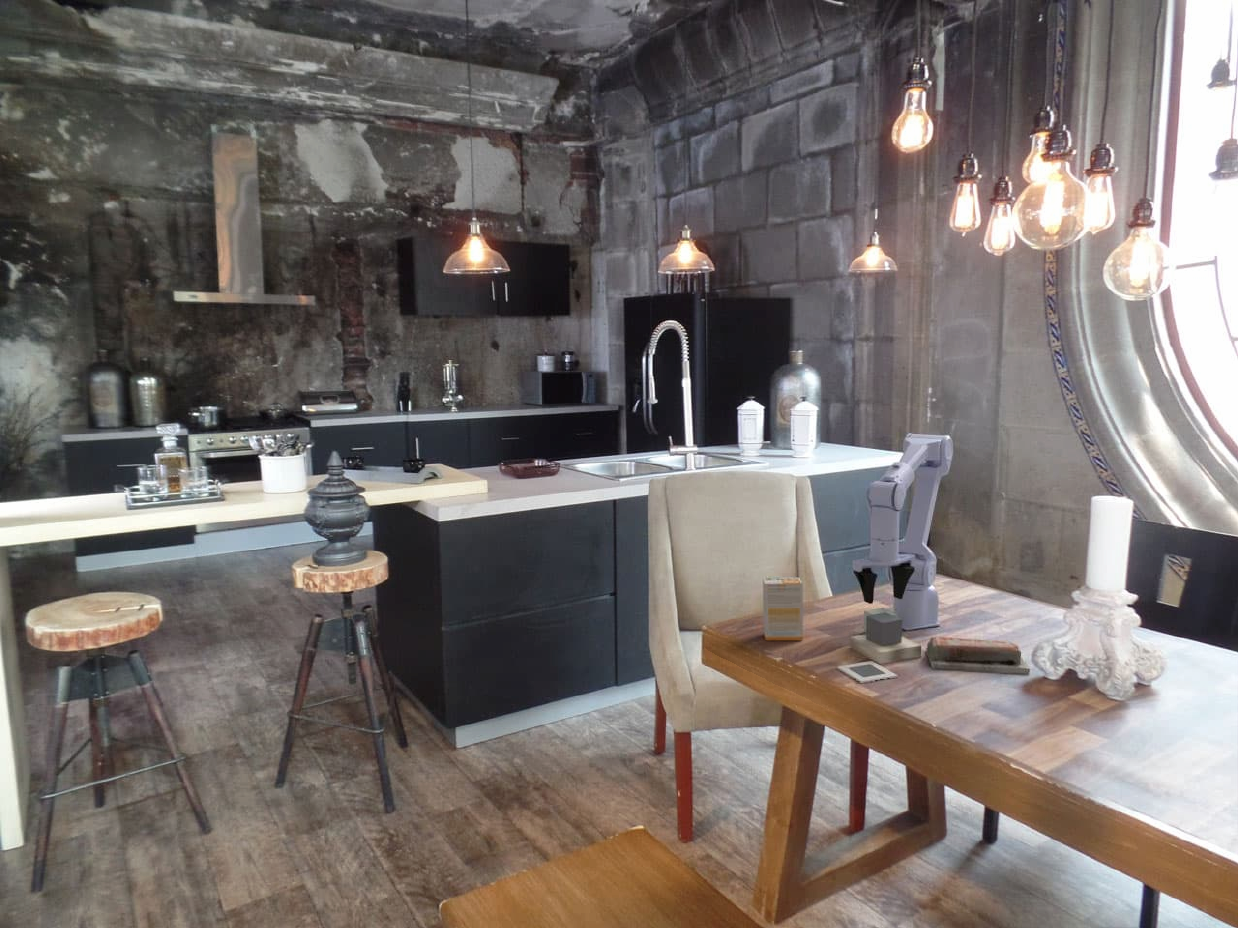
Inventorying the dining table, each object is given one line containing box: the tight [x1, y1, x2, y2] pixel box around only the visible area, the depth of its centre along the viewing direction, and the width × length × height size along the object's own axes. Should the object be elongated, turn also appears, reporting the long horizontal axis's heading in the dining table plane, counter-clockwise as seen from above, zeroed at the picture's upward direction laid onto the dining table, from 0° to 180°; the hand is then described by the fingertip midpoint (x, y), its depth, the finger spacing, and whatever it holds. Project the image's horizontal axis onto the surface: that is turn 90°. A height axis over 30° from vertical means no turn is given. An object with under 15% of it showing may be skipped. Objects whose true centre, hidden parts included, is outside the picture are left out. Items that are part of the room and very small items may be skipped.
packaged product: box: [925, 636, 1031, 675], centre depth 167 cm, size 18×5×10 cm
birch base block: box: [849, 633, 922, 665], centre depth 174 cm, size 10×10×3 cm
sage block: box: [863, 607, 897, 634], centre depth 185 cm, size 5×5×5 cm
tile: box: [837, 660, 898, 684], centre depth 163 cm, size 8×8×1 cm
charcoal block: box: [865, 612, 903, 646], centre depth 173 cm, size 5×5×5 cm
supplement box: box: [762, 577, 804, 641], centre depth 183 cm, size 8×5×13 cm, turn 84°
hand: (883, 600), depth 178 cm, fingers open, 7 cm apart
